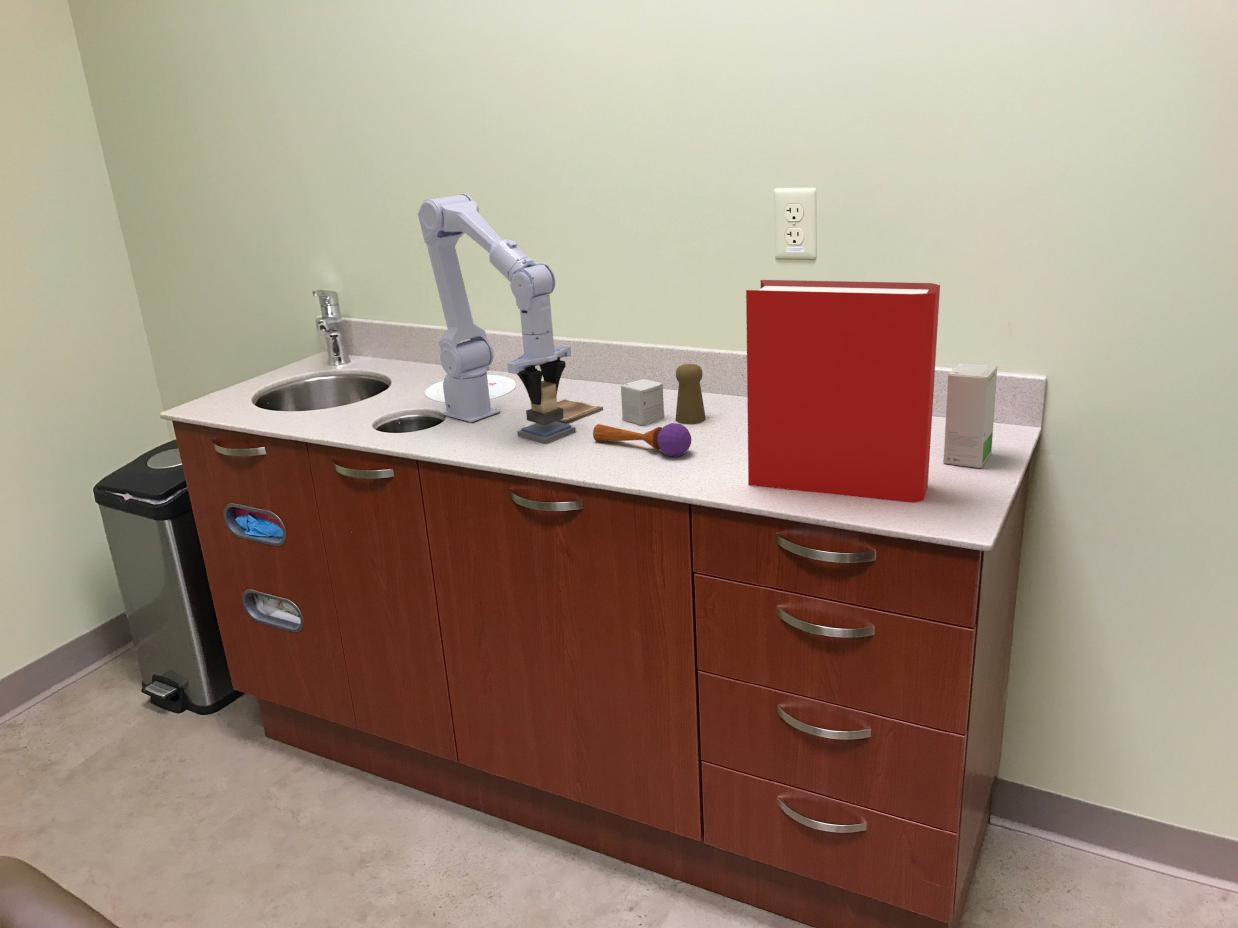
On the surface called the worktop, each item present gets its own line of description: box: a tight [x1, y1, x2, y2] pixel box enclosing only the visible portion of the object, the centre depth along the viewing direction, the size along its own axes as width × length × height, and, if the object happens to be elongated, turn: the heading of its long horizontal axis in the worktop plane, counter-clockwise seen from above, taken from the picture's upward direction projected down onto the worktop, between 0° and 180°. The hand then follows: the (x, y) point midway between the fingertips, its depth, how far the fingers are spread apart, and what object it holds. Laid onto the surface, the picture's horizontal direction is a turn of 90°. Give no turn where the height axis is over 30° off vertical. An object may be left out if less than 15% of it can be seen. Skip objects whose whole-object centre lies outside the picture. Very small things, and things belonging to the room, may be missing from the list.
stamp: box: [525, 380, 564, 426], centre depth 184 cm, size 5×5×7 cm
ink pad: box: [516, 421, 577, 445], centre depth 186 cm, size 8×8×2 cm
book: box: [745, 279, 941, 504], centre depth 149 cm, size 27×8×32 cm, turn 66°
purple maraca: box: [592, 422, 692, 458], centre depth 175 cm, size 6×6×20 cm
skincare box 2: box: [942, 362, 998, 469], centre depth 159 cm, size 8×7×16 cm
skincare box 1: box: [620, 378, 665, 426], centre depth 190 cm, size 6×6×7 cm
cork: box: [675, 363, 707, 425], centre depth 188 cm, size 6×6×11 cm
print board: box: [557, 398, 604, 424], centre depth 198 cm, size 11×11×1 cm
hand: (543, 401), depth 184 cm, fingers closed on stamp, 3 cm apart
